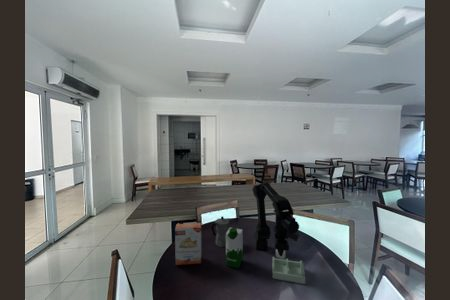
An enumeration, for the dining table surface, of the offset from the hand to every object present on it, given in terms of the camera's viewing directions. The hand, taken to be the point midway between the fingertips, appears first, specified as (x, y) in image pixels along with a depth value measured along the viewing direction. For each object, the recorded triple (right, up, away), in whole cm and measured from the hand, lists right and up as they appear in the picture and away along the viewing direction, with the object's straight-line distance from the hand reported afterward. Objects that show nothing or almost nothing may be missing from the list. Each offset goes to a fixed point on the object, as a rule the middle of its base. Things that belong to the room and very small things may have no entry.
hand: (280, 252), depth 94 cm
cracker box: (-49, -10, +9) cm, 51 cm away
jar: (0, -2, 0) cm, 2 cm away
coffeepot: (-31, -9, +26) cm, 41 cm away
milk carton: (-24, -10, +7) cm, 27 cm away
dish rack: (+3, -10, 0) cm, 11 cm away
